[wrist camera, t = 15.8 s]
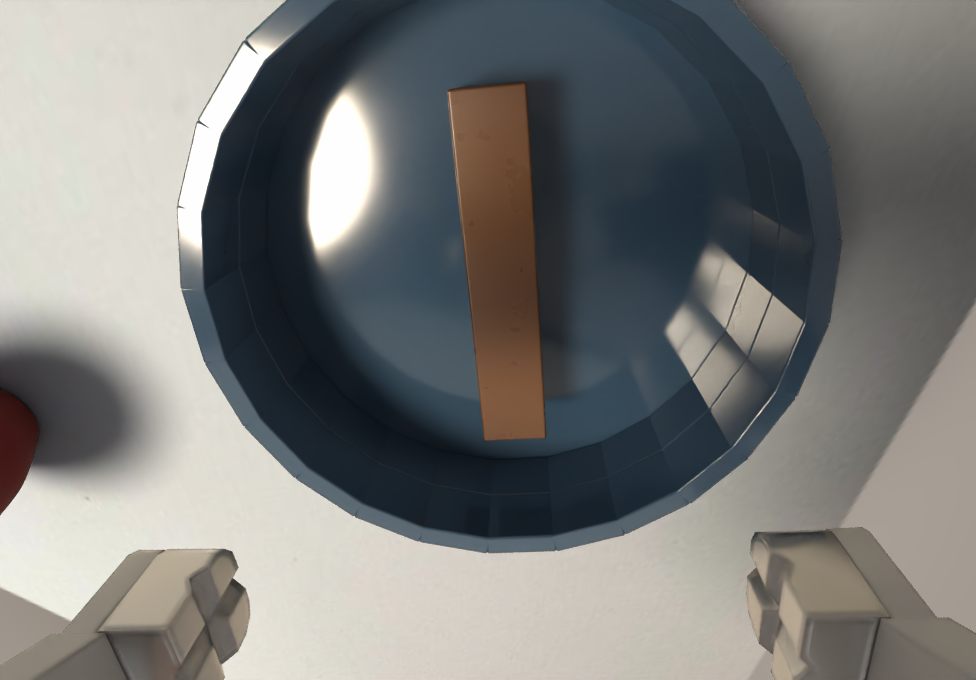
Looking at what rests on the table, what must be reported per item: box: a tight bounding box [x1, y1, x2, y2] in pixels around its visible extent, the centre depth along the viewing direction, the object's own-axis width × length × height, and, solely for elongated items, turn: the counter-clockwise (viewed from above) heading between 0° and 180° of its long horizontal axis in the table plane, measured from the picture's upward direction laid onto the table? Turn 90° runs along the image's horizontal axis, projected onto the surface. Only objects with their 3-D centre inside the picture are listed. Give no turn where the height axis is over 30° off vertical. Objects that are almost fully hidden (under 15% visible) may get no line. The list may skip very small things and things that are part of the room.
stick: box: [447, 82, 546, 441], centre depth 22 cm, size 13×2×3 cm, turn 5°
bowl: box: [177, 0, 842, 553], centre depth 22 cm, size 21×21×6 cm
